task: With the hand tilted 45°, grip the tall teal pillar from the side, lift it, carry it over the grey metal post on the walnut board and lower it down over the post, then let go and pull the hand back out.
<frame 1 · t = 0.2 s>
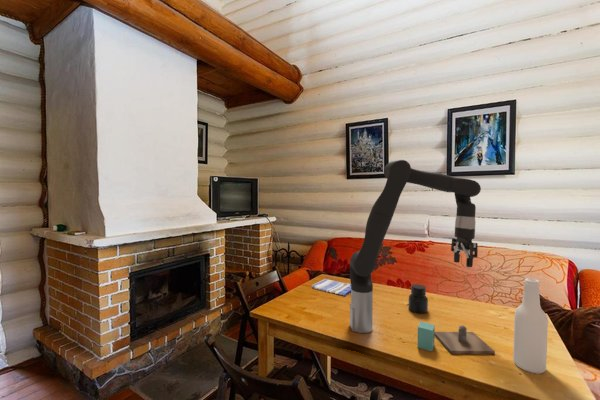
hand: (462, 264, 123), 28 cm above the table, fingers open, 8 cm apart
post board: (462, 343, 112), on the table
alcohol: (529, 366, 98), on the table
tall teal pillar: (425, 346, 110), on the table
dish towel: (334, 289, 174), on the table
ink bottle: (418, 310, 143), on the table
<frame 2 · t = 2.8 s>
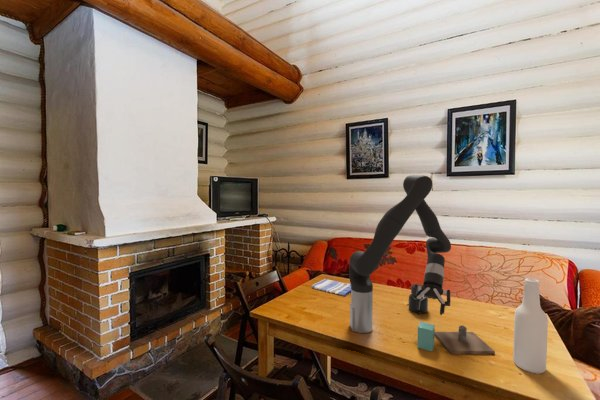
hand: (429, 311, 116), 11 cm above the table, fingers open, 8 cm apart
nothing on the table moved.
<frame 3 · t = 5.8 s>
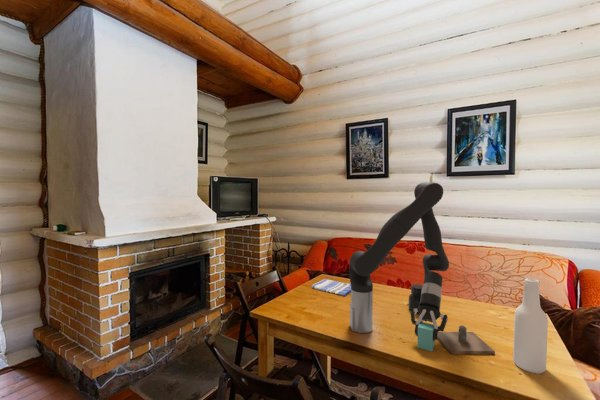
hand: (425, 337, 109), 4 cm above the table, fingers closed on tall teal pillar, 5 cm apart
tall teal pillar: (425, 346, 110), on the table, touching gripper
everything else where it was.
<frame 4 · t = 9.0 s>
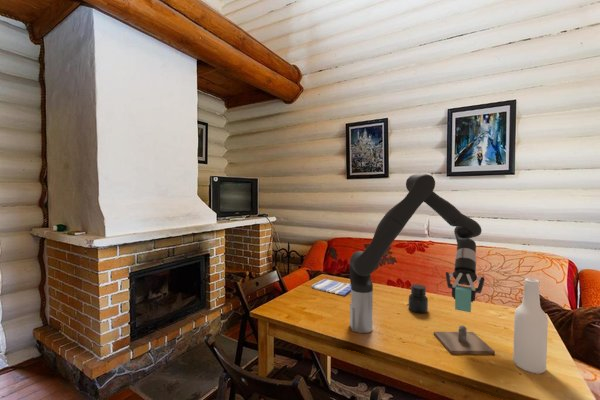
hand: (463, 299, 110), 18 cm above the table, fingers closed on tall teal pillar, 5 cm apart
tall teal pillar: (463, 308, 111), point 14 cm above the table, touching gripper
everything else where it was.
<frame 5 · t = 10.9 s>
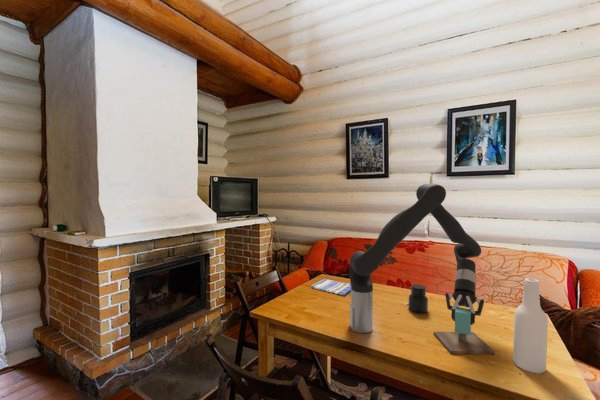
hand: (462, 322, 110), 9 cm above the table, fingers closed on tall teal pillar, 5 cm apart
tall teal pillar: (462, 330, 112), point 5 cm above the table, touching gripper
everything else where it was.
when the fingers open (7 cm above the table, at t = 12.5 s): tall teal pillar drops 1 cm, resting on post board.
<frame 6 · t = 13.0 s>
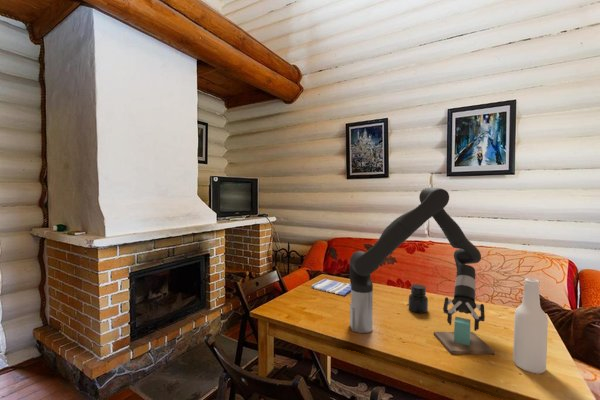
hand: (462, 327, 111), 7 cm above the table, fingers open, 8 cm apart
tall teal pillar: (462, 340, 112), point 1 cm above the table, touching post board
everything else where it was.
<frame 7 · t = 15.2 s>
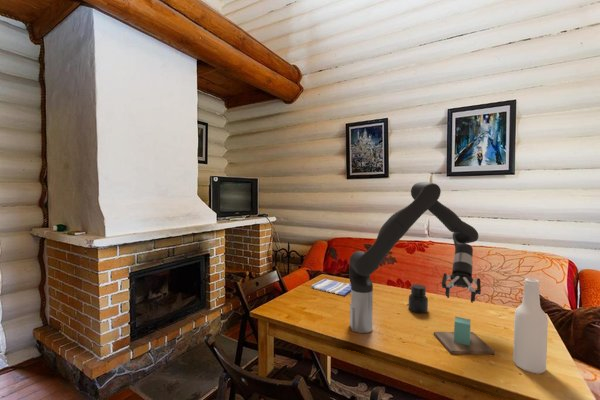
hand: (459, 299, 117), 15 cm above the table, fingers open, 8 cm apart
nothing on the table moved.
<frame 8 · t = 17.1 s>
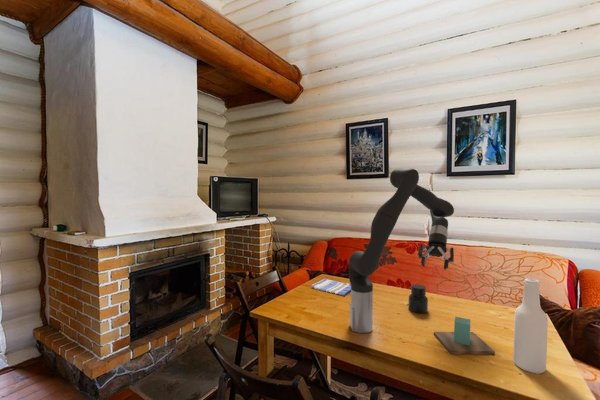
hand: (434, 267, 124), 27 cm above the table, fingers open, 8 cm apart
nothing on the table moved.
at the end: tall teal pillar 0.1 cm from the post board (horizontally); tall teal pillar point 1.2 cm above the table; tall teal pillar tilted 0° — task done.
